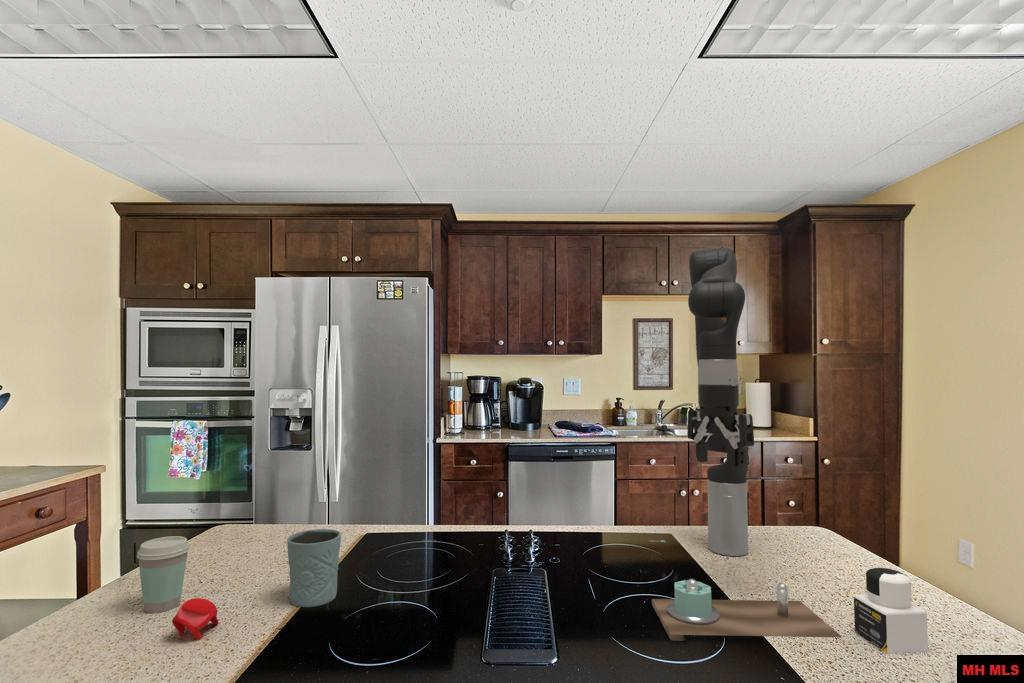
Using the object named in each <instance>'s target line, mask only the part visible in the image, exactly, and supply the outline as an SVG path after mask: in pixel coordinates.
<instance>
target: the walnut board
mask: <svg viewBox="0 0 1024 683" xmlns="http://www.w3.org/2000/svg"><path fill="white" fill-rule="evenodd" d="M672 601H675V598H674V599H673V598H671V599H670V598H651V605H652V607H653V609H654V611H655V613H656V615H657V617H658V618H659V621H660V623H661V625H662V627H663V628H664V631H665V632H666V634H667V636H668V638H669V640H670V641H673V642H676V641H678V642H680V641H681V642H682V641H683V642H686V641H687V639H686V638H685V636H731V637H733V636H735V637H736V636H737V637H784V638H785V637H791V638H792V637H794V638H797V637H798V638H800V637H801V638H802V637H803V638H805V637H806V638H843V636H842V635H841V634H839V633H838V631H836V630H835V629H833V627H831V626H830V625H829V624H828V623H827V622H826V621H824V620H823V619H822V618H821V617H820V616H818V614H816V613H815V612H814V611H812V609H810V608H809V607H808V606H807V605H806V604H805V603H803V602H802V601H801V600H788V614H789V616H788V617H782V616H779V615H778V614H777V600H761V599H759V600H756V599H754V600H751V599H711V605H712V606H713V607H715V608H716V609H717V610H718V611H719V620H718V621H717V622H715V623H713V624H709V625H693V624H688V623H684V622H681V621H678V620H676V619H674V618H672V617H671V616H670V615H669V614H668V613H667V605H668V604H669V603H670V602H672Z"/></svg>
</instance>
